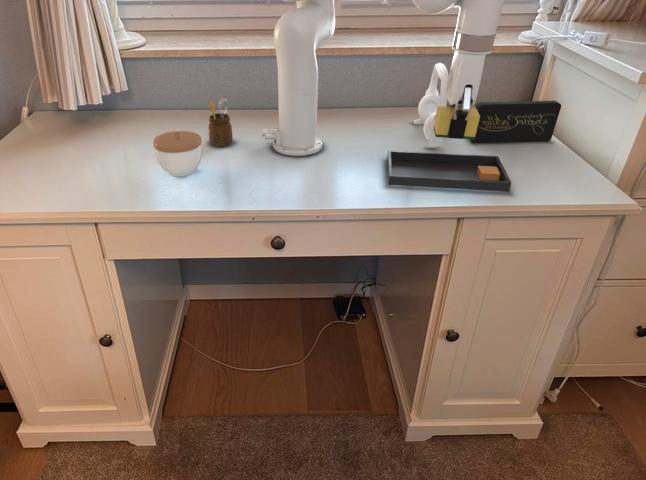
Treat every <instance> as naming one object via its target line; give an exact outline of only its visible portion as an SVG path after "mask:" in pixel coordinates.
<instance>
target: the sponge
mask: <svg viewBox="0 0 646 480" xmlns="http://www.w3.org/2000/svg"><path fill="white" fill-rule="evenodd" d="M454 109H455V107H449V106H446V107H444V106H438V108H437V113H436V119H435V124H434V132H435V136H436V137H442V138H445V139H446V138H447V139H449V138H448V132H449V127H450V122H451V119H453V115H454ZM459 109H460V110H461V108H460V107H458V111H459ZM479 119H480V115H479V113H478V111H477V109H476V108H475V107H470V109H469V114H468V120H467V125H466V129H465V133H464V138H463V139H462V140H470V139H472V140H474V139H475V135H476V131H477V127H478V123H479Z"/></svg>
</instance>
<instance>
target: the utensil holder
mask: <svg viewBox="0 0 646 480" xmlns="http://www.w3.org/2000/svg"><path fill="white" fill-rule="evenodd" d="M223 100H226V98H225V97H224V98H223V97H221V98H220V101H219V102H217V103H218V104H217V106H222V101H223ZM207 103H208V107H209V108H208V109H209V111H210V112H211V113H212V114H211V115H209V116H208V123H209V124H208V137H209V142H210V145H212V147H217V148H219V147H220V148H221V147H228V146H230V145H232V144H233V128H232V127H233V126H232V123H231V122H230V121H231V118H230V115H229V114H227V113H228V108H225V111H222V109H220V108H217V109H218V113H216V112H217V110H216V106H215V103H214V100H213V99H212V100H211V99H207Z"/></svg>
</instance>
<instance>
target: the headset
mask: <svg viewBox="0 0 646 480" xmlns="http://www.w3.org/2000/svg"><path fill="white" fill-rule="evenodd" d="M448 78H449V70H448V69H447V66H446V64H444V63H441V62H438V63H435V64H434V67H433V69H432V73H431V77H430V82H429V85H428V88H427V89H426V91H425V94H424V96H422V98H421V99H420V101H419V102H418V106H417V113H418V116H419V118H418V119H415V120H413V124H414V125H423V130H422V132H423V135H424V136H425V138H426V139H427V140H428V145H427V147H428V148H439V147H442V145H443V143H444V140H445V139H446V138H442V137H436V136H435V132H434V124H435V119H436V113H437V108H438V106H444V107H447V105H448V99H447V96H446V93H445V91H446V86H447V82H448ZM439 80H440V91H439V90H438V88H437V87H438V82H439Z"/></svg>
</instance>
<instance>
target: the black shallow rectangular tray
mask: <svg viewBox="0 0 646 480" xmlns="http://www.w3.org/2000/svg"><path fill="white" fill-rule="evenodd" d="M386 161H387V163H386V164H387V182H388V183H387V184H388V186H403V187H419V188H438V189H452V190H453V189H454V190H469V191H470V190H471V191H486V192H487V191H489V192H504V193H505V192H506V193H507V192H508V193H509V192H510V190H511V186H512V181H511V179H510V177H509V175H508V173H507V170H506V169H505V167H504V165H503V163H502V160H501V159H500V156H498V155H483V154H482V155H481V154H480V155H479V154H462V153H461V154H460V153H441V152H420V151H419V152H418V151H402V150H401V151H400V150H399V151H398V150H387V158H386ZM478 166H493V167H497V168H498V171H499V173H500V177H499V180H498V181H496V180H480V179H479V176H478V173H477V170H478Z"/></svg>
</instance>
